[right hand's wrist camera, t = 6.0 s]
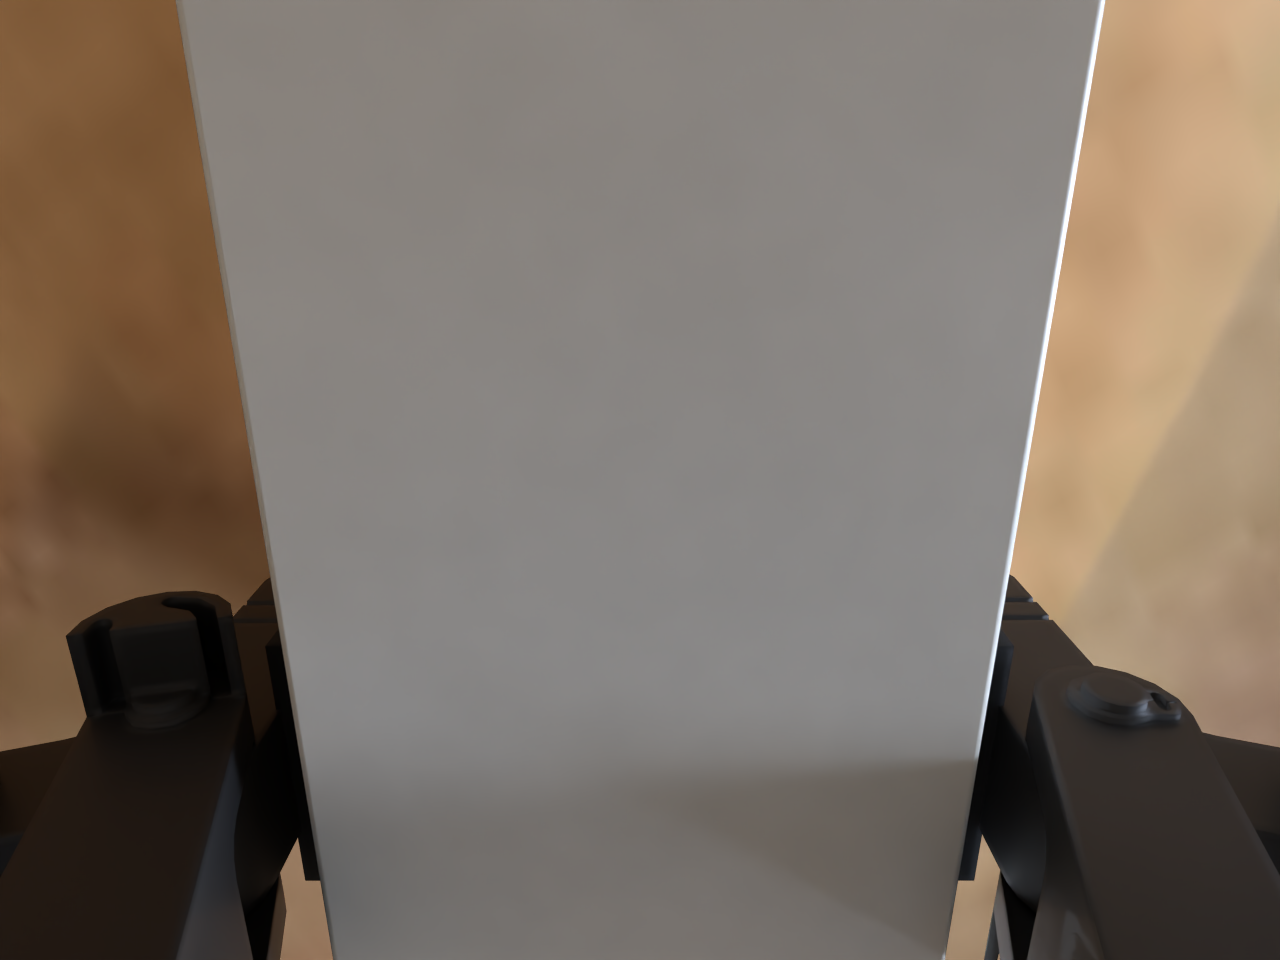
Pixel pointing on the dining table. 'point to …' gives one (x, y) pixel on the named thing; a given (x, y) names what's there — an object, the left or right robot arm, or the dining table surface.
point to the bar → (639, 446)
